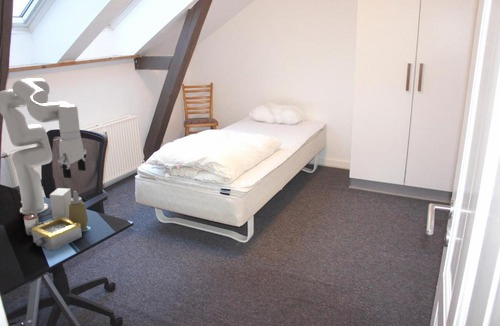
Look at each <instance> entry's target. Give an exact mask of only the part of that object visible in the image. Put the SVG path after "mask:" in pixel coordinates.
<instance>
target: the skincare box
mask: <svg viewBox="0 0 500 326" xmlns="http://www.w3.org/2000/svg"><path fill="white" fill-rule="evenodd" d="M71 198H72V192H71V188H64V187H63V188H62V187H60V188H59V187H58V188H56V189H55V190H54V191H52V192H51V193H50V194H49V201H50V202H49V203H50V208H51V216H52V217H51V218H52V220H54V219H56V218H59V217H61V216H62V217H65V218H67V219H69V204H70V203H71V201H70V199H71Z"/></svg>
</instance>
